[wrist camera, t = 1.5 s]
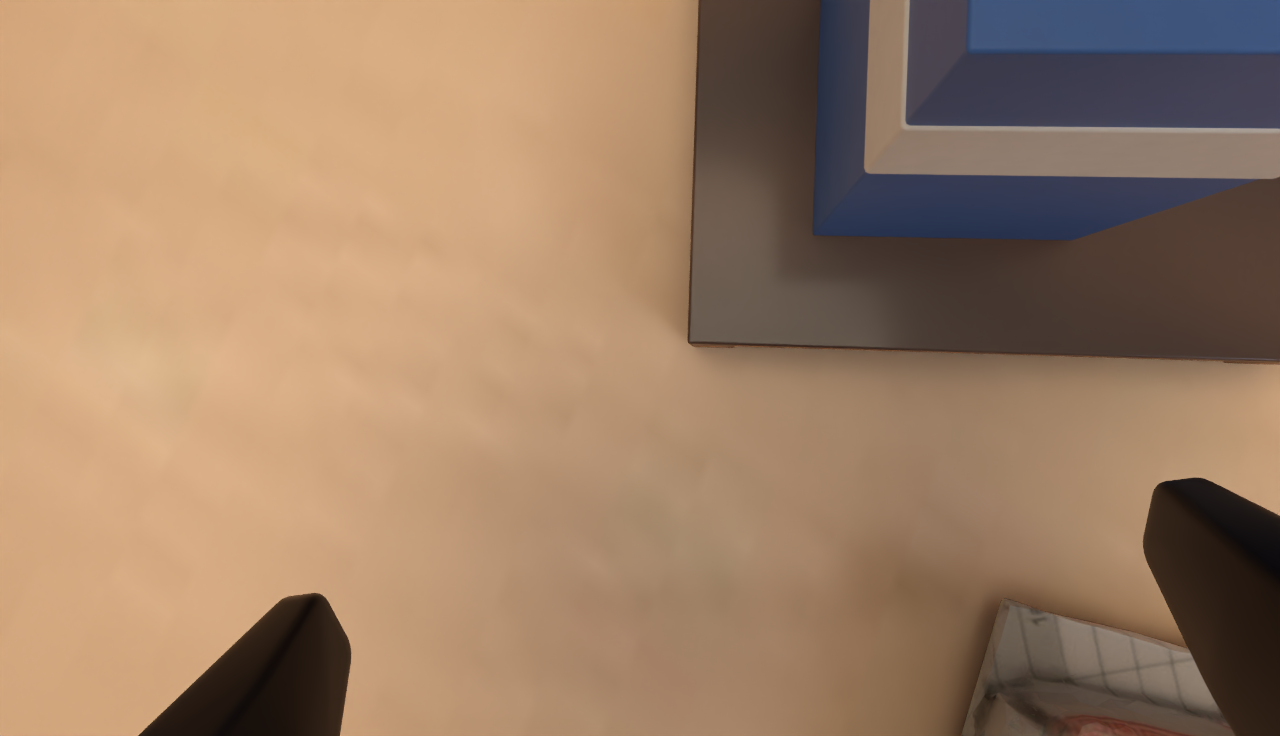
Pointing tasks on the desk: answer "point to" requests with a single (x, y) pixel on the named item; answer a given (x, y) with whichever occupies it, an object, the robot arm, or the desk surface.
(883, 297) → the shelf
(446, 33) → the desk surface
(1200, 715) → the packaged product
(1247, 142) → the box
